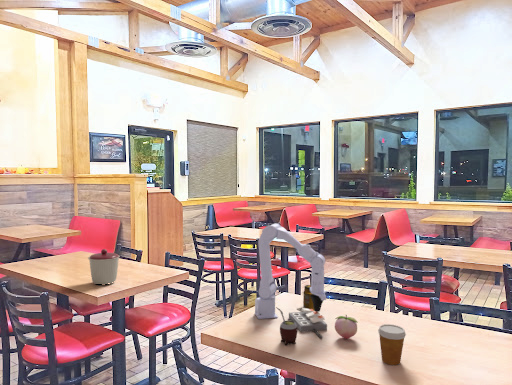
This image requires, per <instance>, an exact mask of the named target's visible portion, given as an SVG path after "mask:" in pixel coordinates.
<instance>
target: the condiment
mask: <svg viewBox="0 0 512 385" xmlns="http://www.w3.org/2000/svg"><path fill="white" fill-rule="evenodd" d="M310 287H311V284H305V285H304V288H303V289H304V290H303V295H302V296H303V301H302V302H303V303H302V304H303V306H302V307H298V308H296V309H297V310H298V311H299V312H303V311H302V310H301V309H302V308H307V309H313V310H314V306H313V302H312V299H311V297H310V295H313V294H312V293H311V291H310ZM314 311H315V310H314Z"/></svg>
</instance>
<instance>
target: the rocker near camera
mask: <svg viewBox="0 0 512 385" xmlns="http://www.w3.org/2000/svg"><path fill="white" fill-rule="evenodd" d="M322 320H323V321H325V317H324V316H323V315H321V314H320V315H319V316H317V317H313V318H310V321H311V322H312V323H315V322H319V321H322Z"/></svg>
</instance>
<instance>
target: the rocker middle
mask: <svg viewBox="0 0 512 385" xmlns="http://www.w3.org/2000/svg"><path fill="white" fill-rule="evenodd" d="M320 315H321V314H320V311H319V312H311V313H308V314H306V317H307V318H308V319H309V318H313V317H316V316H320Z"/></svg>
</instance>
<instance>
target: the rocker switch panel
mask: <svg viewBox="0 0 512 385" xmlns="http://www.w3.org/2000/svg"><path fill="white" fill-rule="evenodd" d="M306 314H308V313H306V312H302V311H297V312H295V311H292V312H288V319H289V321H293V322H295V323H296V325H297V330H298V331H299V332H301V333H306V332H314V333H315V334H316V335H317V336H318V337H319V338H320V339H323V335H322V334H320V332H319V331H327V330H328V323H326V322H325V320H322V321H319V322H315V323H312V322H311V321H310V318H309V319H308V318H307V317H306ZM316 317H317V316H316Z"/></svg>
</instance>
